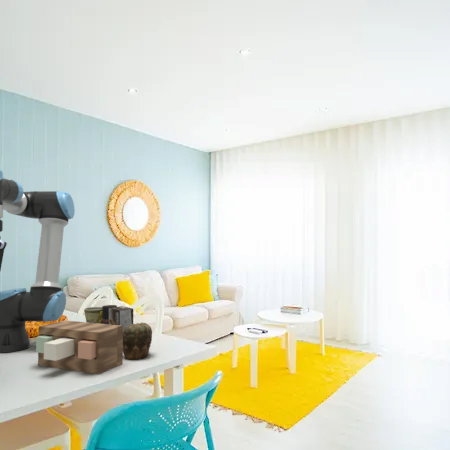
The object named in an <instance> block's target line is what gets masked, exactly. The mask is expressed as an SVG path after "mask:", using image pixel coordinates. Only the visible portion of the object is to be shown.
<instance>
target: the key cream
mask: <svg viewBox="0 0 450 450" xmlns="http://www.w3.org/2000/svg"><path fill="white" fill-rule="evenodd" d="M74 354H75V338H70V337H64V338H60V339H57V340H53V341H49V342H46V343H44V359H47V360H53V361H57V360H60V359H63V358H66V357H68V356H71V355H74Z"/></svg>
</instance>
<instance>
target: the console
mask: <svg viewBox="0 0 450 450" xmlns="http://www.w3.org/2000/svg"><path fill="white" fill-rule="evenodd" d="M42 335H54V340H57V339H60V338H64V337H70V338H75V354H74V355H71V356H68V357H66V358H63V359H60V360H57V361H53V360H47V359H44V353H38V352H37V353H38V354H37V355H38V357H37V359H38V360H37V365H38V366H43V367H50V368H55V369H56V368H57V369H62V370H63V369H64V370H69V371H76V372H83V373H88V374H89V373H90V374H95V375H100V374H103V373H104V372H107V371H109V370H112V369H114V368H116V367H118V366H121V365H123V360H124V358H123V356H124V353H123V326H121V325H110V324H99V323H88V322H86V321H75V320H66V319H65V320H61V321H57V322H56V321H55V322H52V323H47V324H44V325H39V326H38V337H39V336H42ZM86 339H89V340H97V357H96V358H93V359H91V360H89V359H82V358H78V342H80V341H83V340H86Z"/></svg>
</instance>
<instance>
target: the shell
mask: <svg viewBox="0 0 450 450" xmlns="http://www.w3.org/2000/svg"><path fill="white" fill-rule="evenodd" d="M152 338H153V330H152V327H151V326H150V325H149V324H148V323H146V322H136V323H133V324H131V325H129V326H127V327H126V328H125V330H124V333H123V356H124V358H125V359H127V360H131V361H135V360H140V359H141V360H142V359H145V358H146V357H148V356H149V353H150V348H151V344H152V340H153V339H152Z"/></svg>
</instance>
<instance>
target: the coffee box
mask: <svg viewBox="0 0 450 450" xmlns="http://www.w3.org/2000/svg"><path fill="white" fill-rule="evenodd" d="M109 324H110V325H121V326H123V333H124V330H125V328H126V327H127V326H129V325H131V324H134V308H132V307H127V306H123V305H122V306H117V307H113V308H109Z"/></svg>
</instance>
